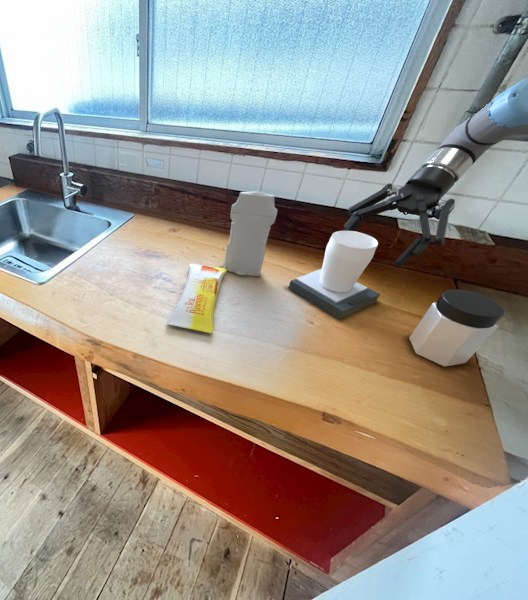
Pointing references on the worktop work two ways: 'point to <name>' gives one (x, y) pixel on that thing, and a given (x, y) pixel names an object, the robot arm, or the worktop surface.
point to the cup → (346, 259)
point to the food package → (198, 299)
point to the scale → (333, 295)
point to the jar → (455, 327)
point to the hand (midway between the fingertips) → (366, 252)
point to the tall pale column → (249, 232)
